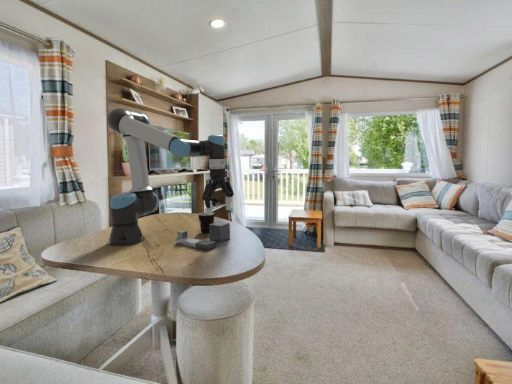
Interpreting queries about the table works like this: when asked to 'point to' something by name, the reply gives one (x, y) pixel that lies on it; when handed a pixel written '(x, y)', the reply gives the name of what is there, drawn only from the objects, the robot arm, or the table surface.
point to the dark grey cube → (219, 231)
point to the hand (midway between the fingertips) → (219, 212)
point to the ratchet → (194, 241)
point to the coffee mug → (205, 221)
